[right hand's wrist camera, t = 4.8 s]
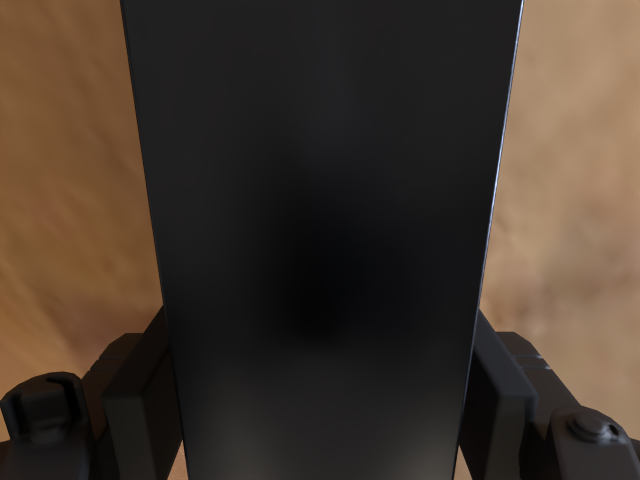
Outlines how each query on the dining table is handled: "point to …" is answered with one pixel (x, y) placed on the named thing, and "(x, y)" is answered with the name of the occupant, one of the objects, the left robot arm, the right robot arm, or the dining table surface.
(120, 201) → the dining table surface
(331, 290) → the bar
